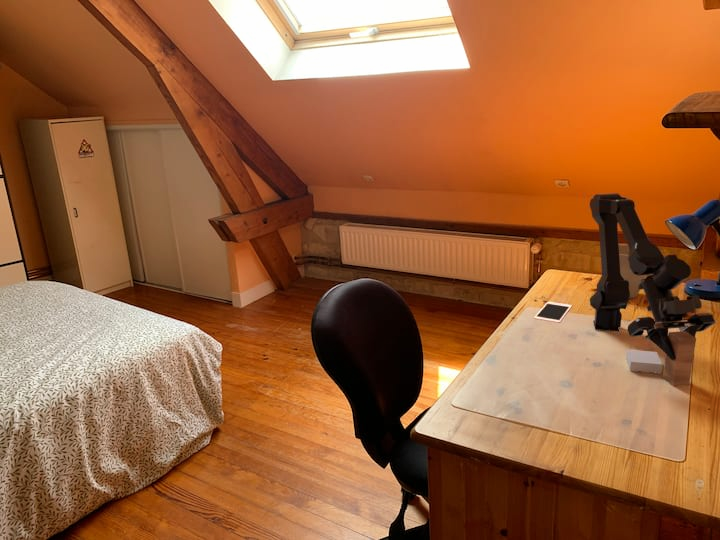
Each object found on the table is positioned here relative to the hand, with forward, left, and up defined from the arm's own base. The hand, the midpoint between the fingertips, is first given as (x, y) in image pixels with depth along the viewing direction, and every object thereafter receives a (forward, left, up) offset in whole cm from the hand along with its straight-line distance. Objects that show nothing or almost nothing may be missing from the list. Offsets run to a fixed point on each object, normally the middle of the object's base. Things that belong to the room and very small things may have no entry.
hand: (683, 358), depth 128 cm
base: (-7, +8, -7) cm, 12 cm away
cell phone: (-27, +42, -7) cm, 50 cm away
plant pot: (-4, +62, -7) cm, 63 cm away
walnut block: (-1, +1, -7) cm, 7 cm away
